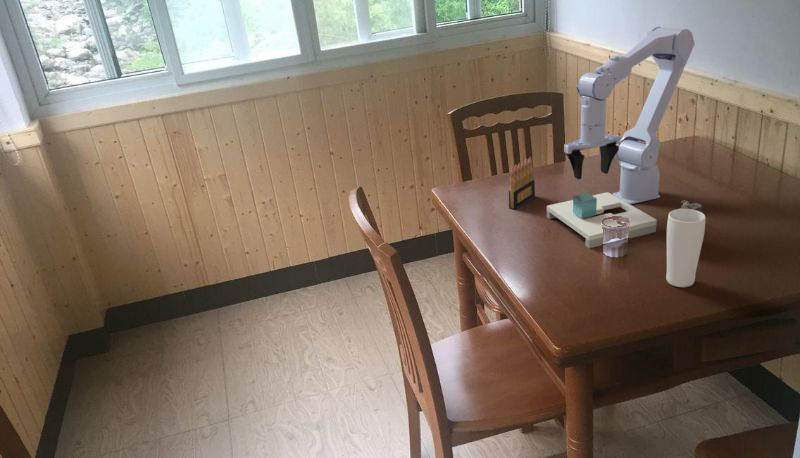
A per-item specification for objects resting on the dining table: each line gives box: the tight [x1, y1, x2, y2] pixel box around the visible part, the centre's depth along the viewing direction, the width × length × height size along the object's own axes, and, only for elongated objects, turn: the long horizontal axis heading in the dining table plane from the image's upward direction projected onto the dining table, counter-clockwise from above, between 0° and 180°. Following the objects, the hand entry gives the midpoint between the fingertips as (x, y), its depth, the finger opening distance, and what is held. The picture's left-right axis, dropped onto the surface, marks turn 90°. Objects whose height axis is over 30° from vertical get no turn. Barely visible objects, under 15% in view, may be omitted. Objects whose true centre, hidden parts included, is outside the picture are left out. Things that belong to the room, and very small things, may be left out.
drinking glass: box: [665, 208, 707, 288], centre depth 123 cm, size 7×7×15 cm
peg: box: [572, 192, 597, 219], centre depth 151 cm, size 4×4×8 cm
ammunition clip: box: [508, 156, 536, 210], centre depth 168 cm, size 11×2×12 cm, turn 138°
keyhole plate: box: [546, 191, 658, 249], centre depth 153 cm, size 18×20×3 cm
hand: (591, 175), depth 156 cm, fingers open, 7 cm apart
